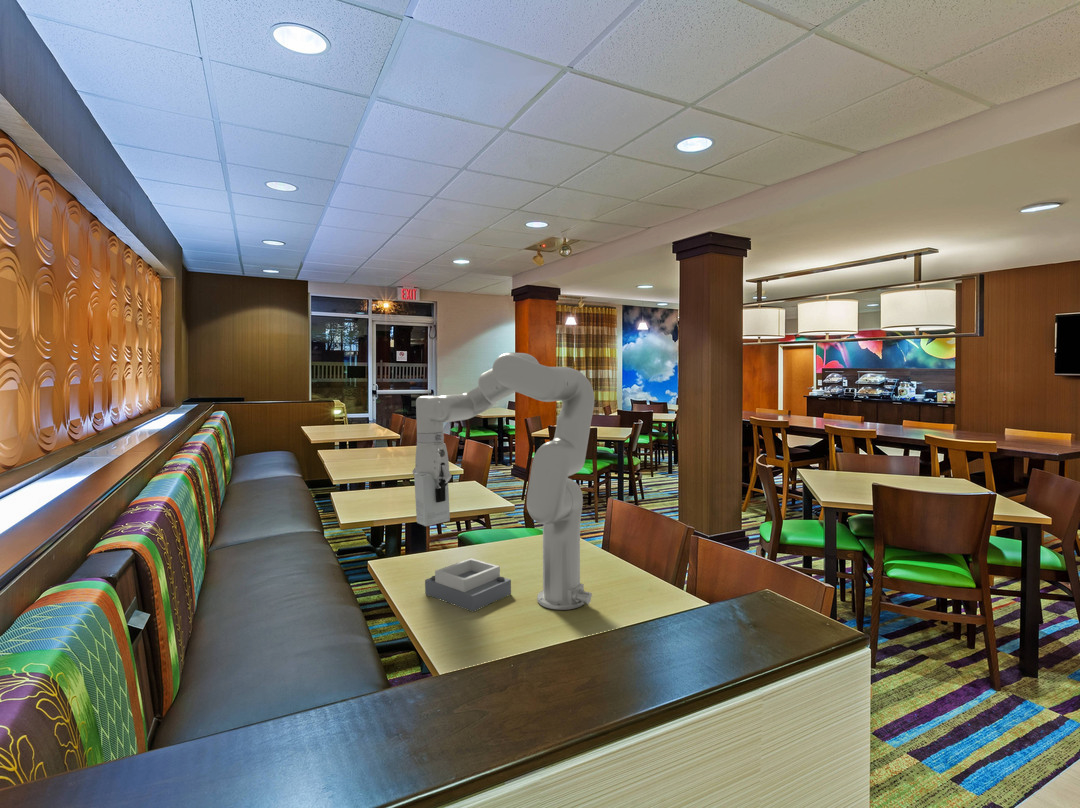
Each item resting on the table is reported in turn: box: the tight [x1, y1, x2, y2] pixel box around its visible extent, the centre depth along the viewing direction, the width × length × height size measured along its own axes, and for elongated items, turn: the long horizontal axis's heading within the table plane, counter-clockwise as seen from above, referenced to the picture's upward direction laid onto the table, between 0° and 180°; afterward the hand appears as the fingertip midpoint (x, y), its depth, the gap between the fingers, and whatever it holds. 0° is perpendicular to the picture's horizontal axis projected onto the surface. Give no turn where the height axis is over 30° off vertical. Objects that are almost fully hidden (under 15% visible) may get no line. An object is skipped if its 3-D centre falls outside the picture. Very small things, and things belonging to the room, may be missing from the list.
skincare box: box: [413, 473, 451, 527], centre depth 163 cm, size 8×6×15 cm
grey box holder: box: [424, 557, 512, 612], centre depth 149 cm, size 18×14×7 cm
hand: (432, 499), depth 163 cm, fingers closed on skincare box, 6 cm apart
